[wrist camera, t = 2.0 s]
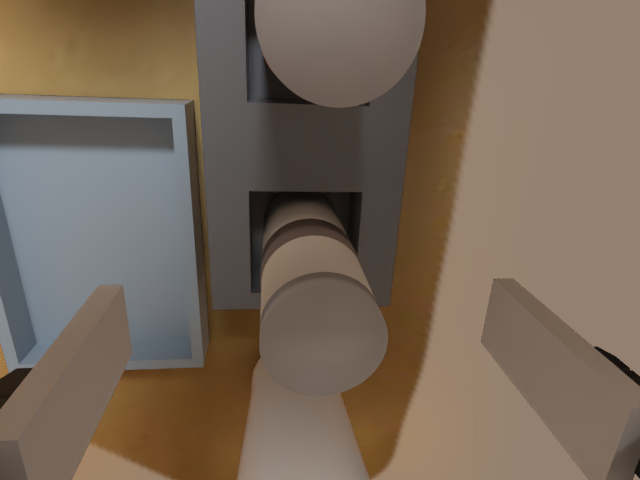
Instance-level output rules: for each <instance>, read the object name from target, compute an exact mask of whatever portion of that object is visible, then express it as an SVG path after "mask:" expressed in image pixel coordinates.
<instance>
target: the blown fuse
mask: <svg viewBox="0 0 640 480" xmlns="http://www.w3.org/2000/svg"><path fill="white" fill-rule="evenodd" d="M260 288H261V309H260V338H259V350H260V356H261V360H262V363H263V365H264V367H265V369H266V370H267V372H268V373H269V375H270V376H271V377H272V378H273V379H274V380H275V381H276V382H277V383H279V384H280V385H282V386H283V387H285V388H287V389H289V390H291V391H293V392H296V393H299V394H304V395H310V396H327V395H334V394H338V393H341V392H345V391H347V390H350V389H352V388H354V387H356V386H357V385H359V384H361V383H362V382H364V381H365V380H366V379H367V378H369V377H370V376H371V375H372V374H373V373H374V372H375V370H376V369H377V368H378V366H379V365H380V364H381V362H382V360H383V358H384V356H385V353H386V350H387V345H388V329H387V325H386V322H385V319H384V317H383V315H382V313H381V310H380V308H379V306H378V304H377V301H376V299H375V297H374V295H373V293H372V290H371V288H370V286H369V284H368V281H367V279H366V277H365V275H364V272H363V269H362V265H361V263H360V260H359V258H358V256H357V254H356V252H355V250H354V247H353V245H352V243H351V241H350V239H349V238H348V236H347V235H346V232H345V230H344V228H343V226H342V223H341V221H340V219H339V217H338V214H337V212H336V210H335V208H334V206H333V204H332V202H331V201H330V200H329V199H328V198H327V197H326V196H325V195H324V194H322V193H321V192H291V191H283V192H282V193H280V194H278V195H277V196H276V197H275V198H274V199H273V200H272V201H271V202H270V204H269V205H268V207H267V209H266V212H265V215H264V224H263V252H262V257H261V274H260Z"/></svg>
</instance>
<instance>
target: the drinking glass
mask: <svg viewBox="0 0 640 480" xmlns="http://www.w3.org/2000/svg"><path fill="white" fill-rule="evenodd" d="M236 480H370V477H369V474H368V471H367V468H366V465H365V462H364V460H363V457H362V454H361V451H360V448H359V445H358V442H357V439H356V436H355V433H354V431H353V428H352V425H351V422H350V419H349V416H348V413H347V410H346V407H345V404H344V401H343V398H342V395H341V393H338V394H334V395H327V396H310V395H304V394H299V393H296V392H293V391H291V390H289V389H287V388H285V387H283V386H282V385H280V384H279V383H277V382H276V381H275V380H274V379H273V378H272V377H271V376H270V375H269V373H268V372H267V370H266V369H265V367H264V365H263V363H262V360H261V358H260V359H259V360H258V362H257V364H256V366H255V368H254V370H253V374H252V383H251V397H250V403H249V409H248V415H247V421H246V427H245V433H244V438H243V444H242V450H241V456H240V461H239V467H238V472H237V478H236Z"/></svg>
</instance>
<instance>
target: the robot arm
mask: <svg viewBox="0 0 640 480" xmlns="http://www.w3.org/2000/svg"><path fill="white" fill-rule="evenodd" d="M481 343H482V344H483V345H484V347H485V348H486V349H487V350H488V352H489V353H490V354H491V356H492V357H493V358H494V359H495V361H496V362H497V363H498V364H499V366H500V367H501V368H502V370H503V371H504V372H505V373H506V375H507V376H508V377H509V379H510V380H511V381H512V382H513V384H514V385H515V386H516V388H517V389H518V390H519V391H520V393H521V394H522V395H523V397H524V398H525V399H526V400H527V402H528V403H529V404H530V405H531V407H532V408H533V409H534V411H535V412H536V413H537V414H538V416H539V417H540V418H541V420H542V421H543V422H544V423H545V425H546V426H547V427H548V429H549V430H550V431H551V432H552V434H553V435H554V436H555V437H556V439H557V440H558V441H559V442H560V444H561V445H562V446H563V448H564V449H565V450H566V452H567V453H568V454H569V455H570V457H571V458H572V459H573V460H574V462H575V463H576V464H577V466H578V467H579V468H580V469H581V470H582V472H583V473H584V475H585V476H586V477H587V478H588V480H633V478H634V475H635V474H636V475H637V476H638V477H639V478H640V376H639V375H637V374H636V373H635V372H634V371H630V368H629V367H628V366H627V365H625V364H624V363H623V362H622V361H620V360H619V359H618V358H617V357H615V356H614V355H612V354H610V353H608V352H606V351H604V350H603V349H601V348H599V347H593V346H592V345H591V344H589V343H588V342H587V341H586V340H585V339H583V338H582V337H581V336H580V335H579V334H578V333H576V332H575V331H574V330H573V329H572V328H570V327H569V326H568V325H567V324H566V323H565V322H564V321H562V320H561V319H560V318H559V317H558V316H556V315H555V314H554V313H553V312H552V311H551V310H549V309H548V308H547V307H546V306H545V305H544V304H542V303H541V302H540V301H539V300H538V299H537V298H535V297H534V296H533V295H532V294H531V293H529V292H528V291H527V290H526V289H525V288H524V287H522V286H521V285H520V284H519V283H518V282H516V281H515V280H514V279H493V284H492V289H491V294H490V300H489V305H488V309H487V315H486V319H485V324H484V329H483V334H482V339H481ZM131 355H132V346H131V339H130V332H129V324H128V317H127V310H126V303H125V295H124V288H123V284H113V285H98V287H97V288H96V289H95V290H94V292H93V293H92V294H91V295H90V297H89V298H88V299H87V300H86V302H85V303H84V304H83V305H82V307H81V308H80V309H79V311H78V312H77V313H76V314H75V316H74V317H73V318H72V319H71V321H70V322H69V323H68V324H67V326H66V327H65V328H64V330H63V331H62V332H61V333H60V335H59V336H58V337H57V338H56V340H55V341H54V342H53V343H52V345H51V346H50V347H49V348H48V350H47V351H46V352H45V354H44V355H43V356H42V357H41V359H40V360H39V361H38V362H37V364H36V365H35V366H34V367H33V368H16V369H15V370H13V371H12V372H10V373H9V374H7V375H6V376H4V377H3V378H1V379H0V480H72V478H73V476H74V474H75V472H76V470H77V468H78V466H79V464H80V462H81V459H82V457H83V455H84V453H85V451H86V449H87V447H88V445H89V443H90V441H91V439H92V437H93V435H94V432H95V430H96V428H97V426H98V424H99V422H100V420H101V418H102V416H103V414H104V412H105V410H106V407H107V405H108V403H109V401H110V399H111V397H112V395H113V393H114V391H115V389H116V387H117V385H118V383H119V380H120V378H121V376H122V374H123V372H124V370H125V368H126V366H127V364H128V362H129V360H130V358H131Z"/></svg>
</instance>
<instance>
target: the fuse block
mask: <svg viewBox="0 0 640 480" xmlns="http://www.w3.org/2000/svg"><path fill="white" fill-rule="evenodd" d="M194 10H195V26H196V43H197V60H198V76H199V93H200V110H201V126H202V143H203V160H204V176H205V193H206V210H207V226H208V243H209V260H210V276H211V293H212V310H238V309H261V288H260V274H261V257H262V252H263V224H264V215H265V212H266V209H267V207H268V205H269V204H270V202H271V201H272V200H273V199H274V198H275V197H276V196H277V195H278V194H280V193H282V192H283V191H291V192H321V193H322V194H324V195H325V196H326V197H327V198H328V199H329V200H330V201H331V202H332V204H333V206H334V208H335V210H336V212H337V214H338V217H339V219H340V221H341V223H342V226H343V228H344V230H345V232H346V235H347V236H348V238H349V239H350V241H351V243H352V245H353V247H354V250H355V252H356V254H357V256H358V258H359V260H360V263H361V265H362V269H363V272H364V275H365V277H366V279H367V281H368V284H369V286H370V288H371V290H372V293H373V295H374V297H375V299H376V301H377V304H378V306H379V307H380V306H390V299H391V290H392V282H393V273H394V264H395V255H396V247H397V238H398V229H399V220H400V212H401V203H402V194H403V185H404V177H405V168H406V159H407V150H408V142H409V133H410V124H411V115H412V107H413V98H414V89H415V80H416V72H417V63H418V54H419V49H418V52H417V54H416V56H415V58H414V60H413V62H412V64H411V66H410V67H409V69H408V70H407V71H406V73H405V74H404V76H403V77H402V78H401V79H400V80H399V81H398V82H397V83H396V84H395V85H394V86H393V87H392V88H391V89H389V90H388V91H387V92H386V93H384V94H383V95H381V96H379V97H378V98H376V99H374V100H372V101H370V102H367V103H364V104H361V105H358V106H352V107H344V108H335V107H326V106H322V105H318V104H315V103H312V102H310V101H307V100H305V99H303V98H302V97H300V96H298V95H296V94H295V93H294V92H292V91H291V90H290V89H288V88H287V87H286V86H285V85H284V84H283V83H282V82H281V81H280V80H279V79H278V77H277V76H276V75H275V74H274V73H273V72H272V70H271V69H270V67H269V66H268V64H267V63H266V60H265V58H264V56H263V53H262V50H261V47H260V44H259V41H258V37H257V32H256V27H255V15H254V10H255V0H194Z"/></svg>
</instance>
